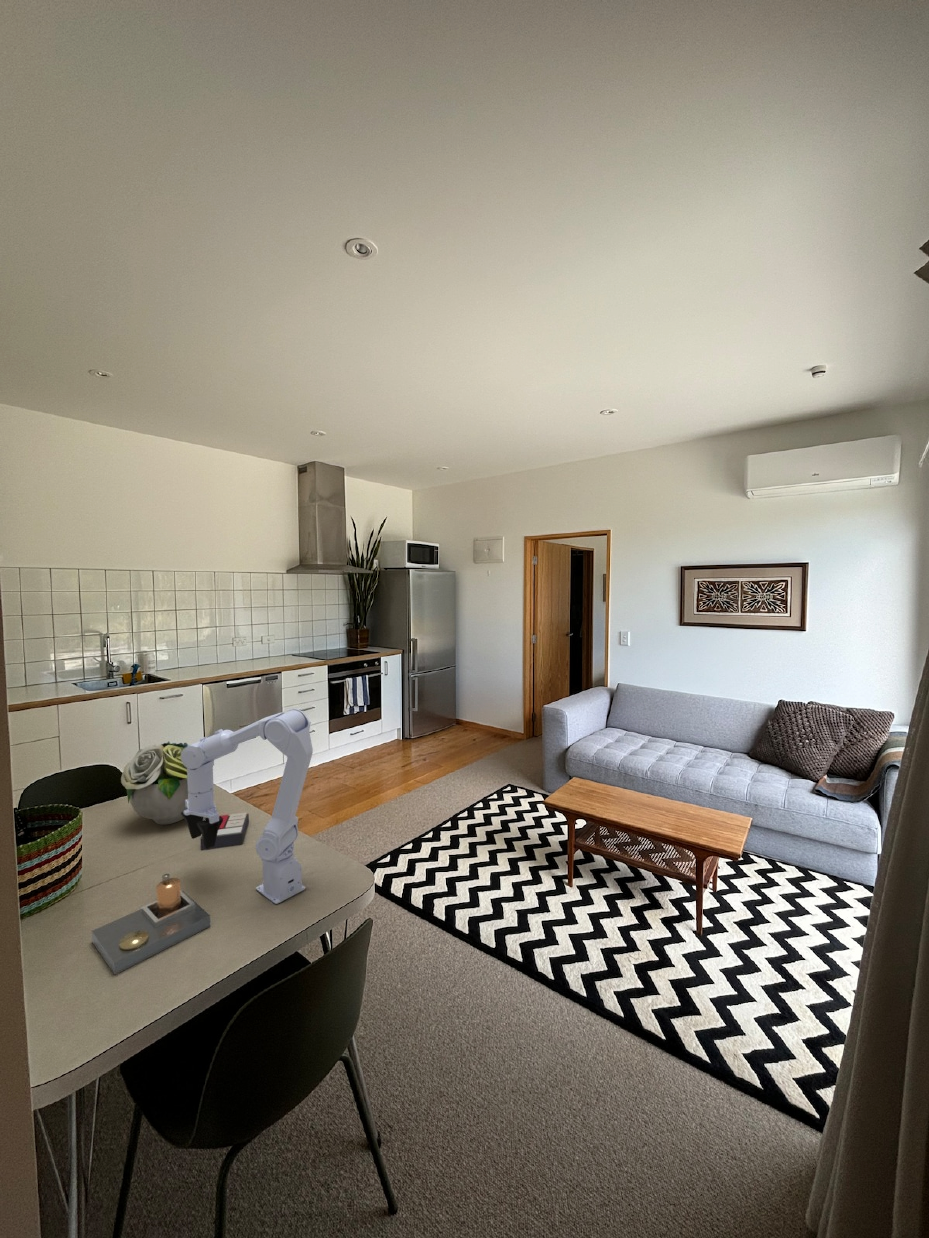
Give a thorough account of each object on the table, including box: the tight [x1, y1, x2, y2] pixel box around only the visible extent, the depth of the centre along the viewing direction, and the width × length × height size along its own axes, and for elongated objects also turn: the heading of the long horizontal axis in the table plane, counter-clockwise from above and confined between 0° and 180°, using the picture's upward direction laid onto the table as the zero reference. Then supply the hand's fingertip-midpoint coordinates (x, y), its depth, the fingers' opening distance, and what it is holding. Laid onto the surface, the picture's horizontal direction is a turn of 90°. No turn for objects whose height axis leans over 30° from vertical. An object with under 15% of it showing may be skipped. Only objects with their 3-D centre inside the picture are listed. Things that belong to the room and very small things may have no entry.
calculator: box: [199, 812, 250, 851], centre depth 152 cm, size 11×4×15 cm
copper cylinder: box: [156, 873, 182, 919], centre depth 113 cm, size 4×4×10 cm
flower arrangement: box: [120, 741, 189, 826], centre depth 161 cm, size 25×25×24 cm
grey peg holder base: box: [91, 889, 211, 976], centre depth 109 cm, size 14×18×4 cm
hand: (202, 841), depth 129 cm, fingers open, 7 cm apart
